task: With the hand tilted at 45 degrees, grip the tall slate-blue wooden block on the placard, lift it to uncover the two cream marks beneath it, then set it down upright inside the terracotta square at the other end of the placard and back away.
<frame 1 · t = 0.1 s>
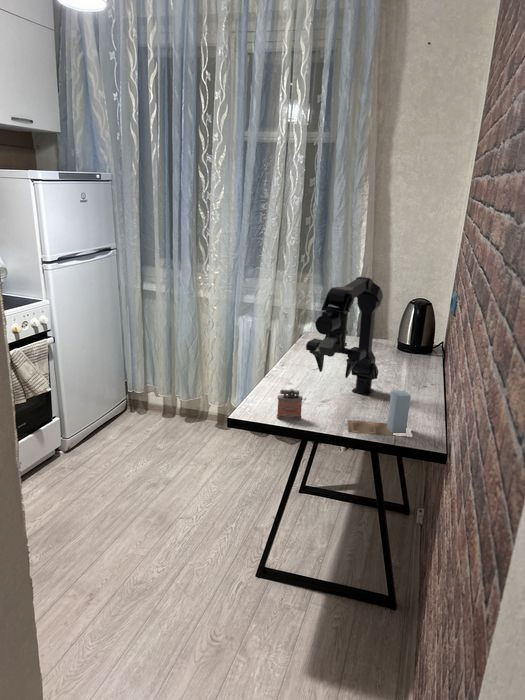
hand: (333, 374, 175), 15 cm above the table, tool pointing down, fingers open, 9 cm apart
tall block: (396, 430, 170), resting on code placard
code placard: (379, 429, 171), on the table
lighter: (288, 418, 176), on the table
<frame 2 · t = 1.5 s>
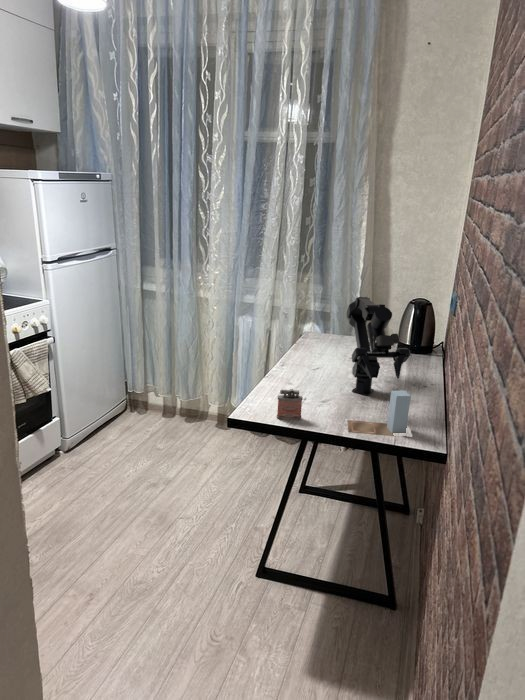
hand: (384, 378, 177), 14 cm above the table, tool tilted 45°, fingers open, 9 cm apart
nothing on the table moved.
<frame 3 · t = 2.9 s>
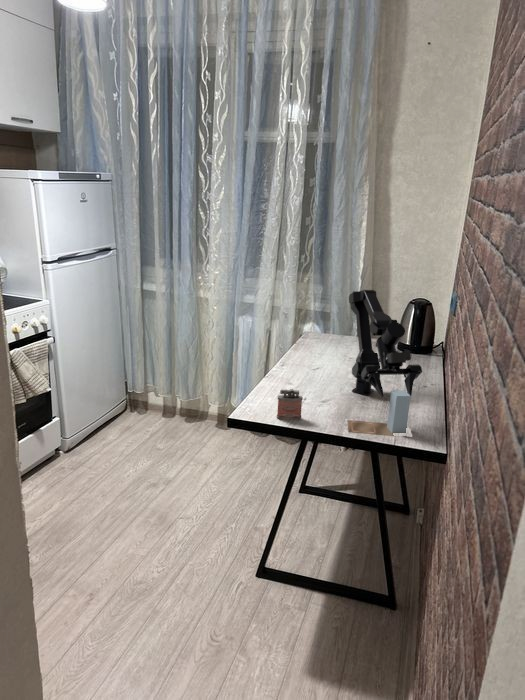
hand: (396, 396, 170), 10 cm above the table, tool tilted 45°, fingers open, 9 cm apart
nothing on the table moved.
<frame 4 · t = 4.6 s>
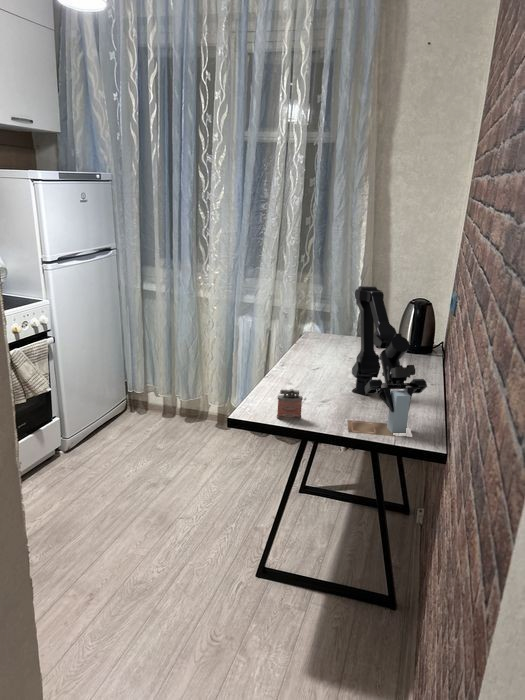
hand: (400, 411, 167), 7 cm above the table, tool tilted 45°, fingers closed on tall block, 4 cm apart
tall block: (396, 430, 170), resting on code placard, touching gripper
everything else where it was.
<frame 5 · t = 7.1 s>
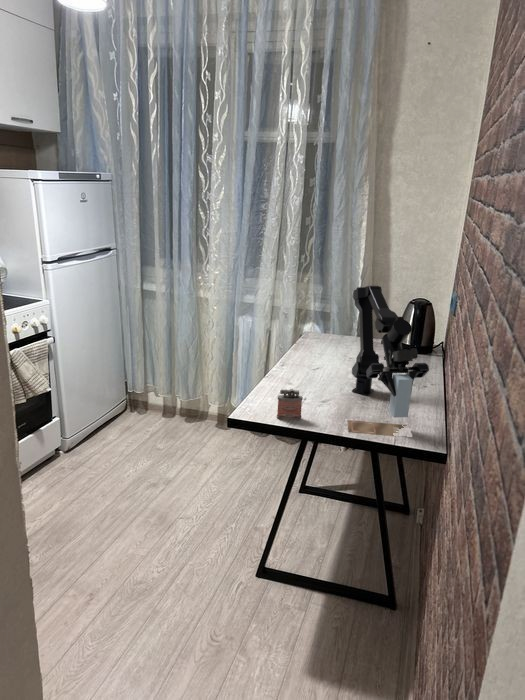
hand: (402, 395, 166), 12 cm above the table, tool tilted 45°, fingers closed on tall block, 4 cm apart
tall block: (398, 414, 169), point 6 cm above the table, touching gripper
everything else where it was.
when the fingers open (8 cm above the table, at t = 9.7 s): tall block drops 1 cm, resting on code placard.
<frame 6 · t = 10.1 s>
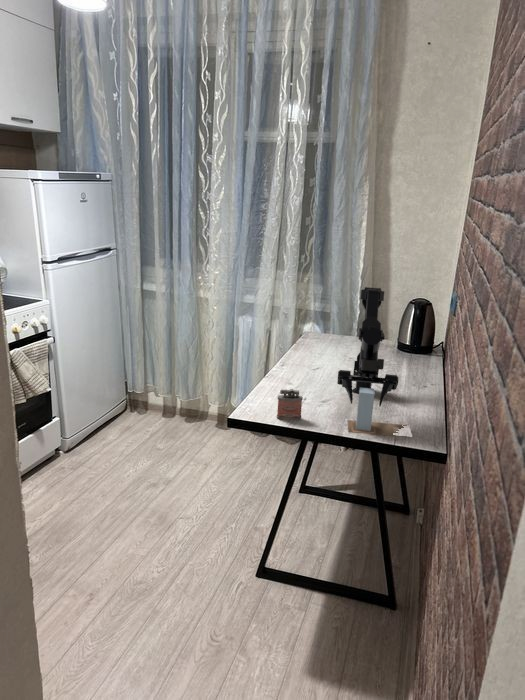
hand: (365, 404, 168), 9 cm above the table, tool tilted 45°, fingers open, 8 cm apart
tall block: (363, 427, 171), resting on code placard
everything else where it was.
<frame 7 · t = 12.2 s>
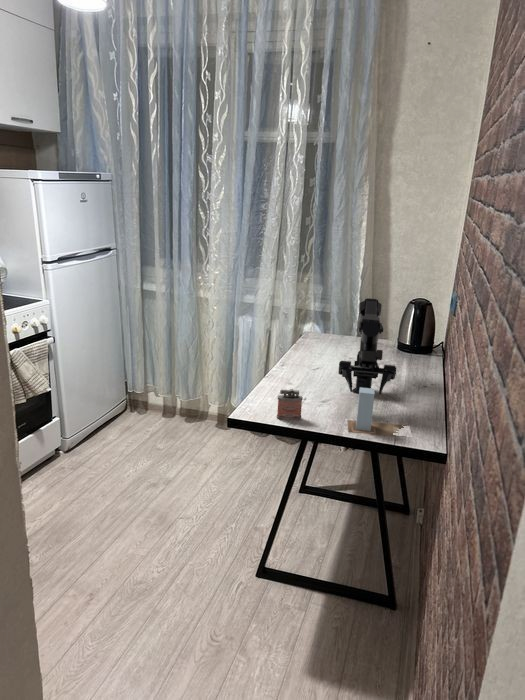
hand: (365, 393, 177), 9 cm above the table, tool tilted 45°, fingers open, 9 cm apart
nothing on the table moved.
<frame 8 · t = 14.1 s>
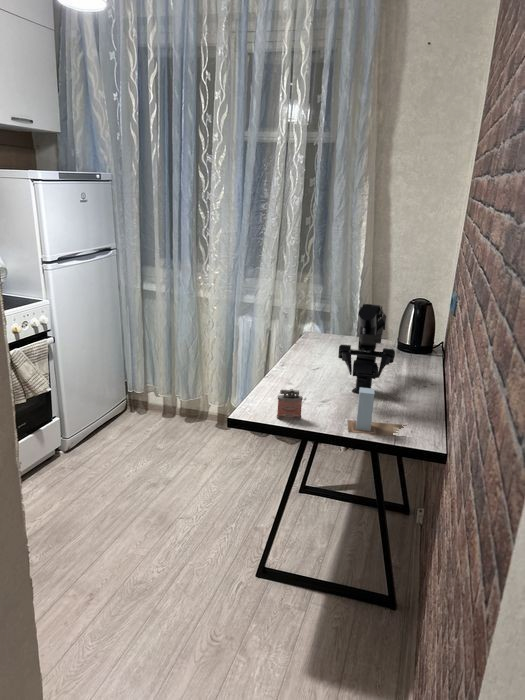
hand: (364, 376, 181), 13 cm above the table, tool tilted 45°, fingers open, 9 cm apart
nothing on the table moved.
at the end: tall block 0.1 cm from the target spot on the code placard, point 0.2 cm above the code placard's base; tall block tilted 0°; the gripper is holding nothing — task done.
